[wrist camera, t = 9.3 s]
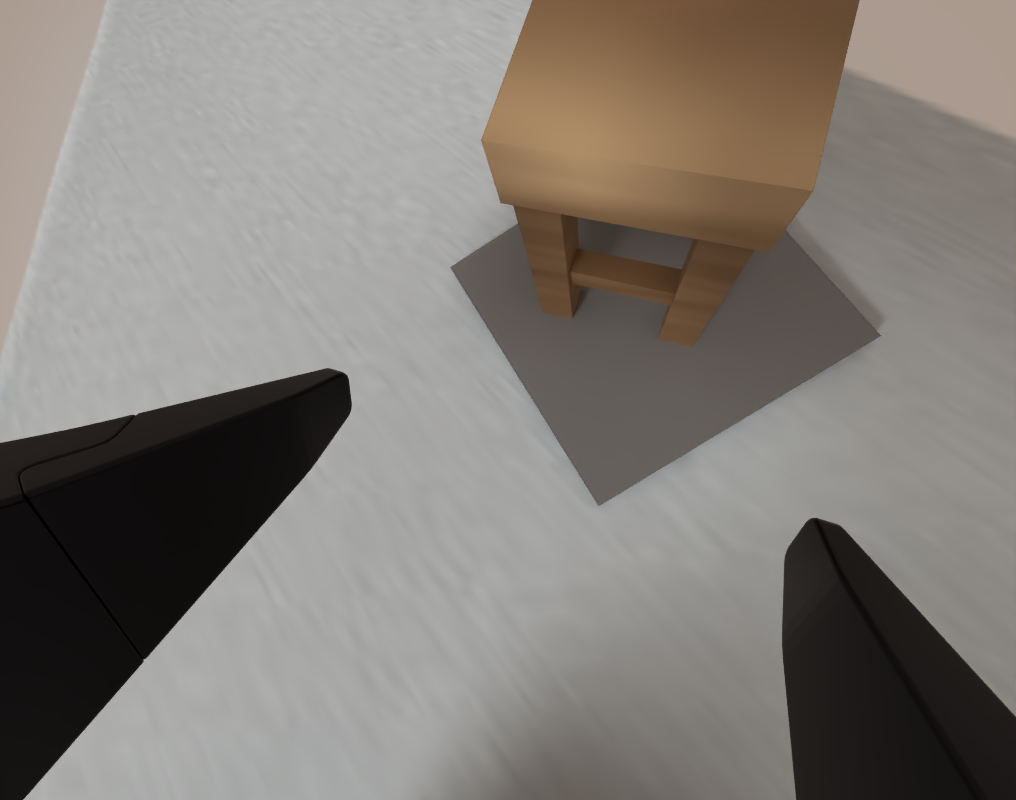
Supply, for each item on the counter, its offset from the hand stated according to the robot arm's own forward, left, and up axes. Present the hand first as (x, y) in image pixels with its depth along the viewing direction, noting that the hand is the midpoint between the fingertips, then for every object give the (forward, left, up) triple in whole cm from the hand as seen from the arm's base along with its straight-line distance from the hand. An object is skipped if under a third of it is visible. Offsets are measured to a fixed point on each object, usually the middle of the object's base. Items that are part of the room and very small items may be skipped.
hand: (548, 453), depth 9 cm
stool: (+5, -6, -8) cm, 11 cm away
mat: (+4, -6, -8) cm, 11 cm away
